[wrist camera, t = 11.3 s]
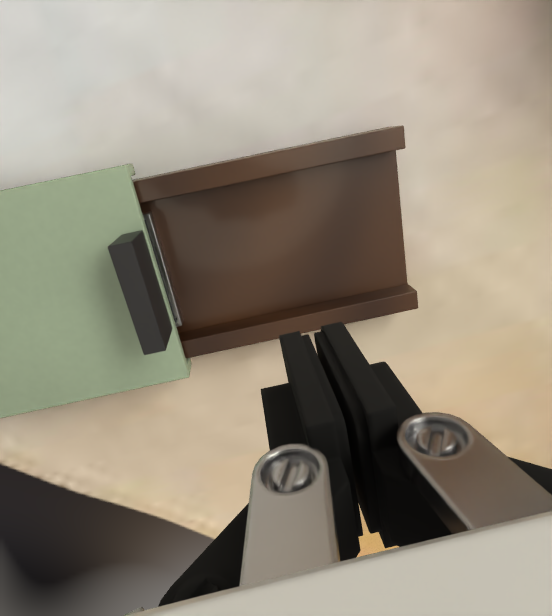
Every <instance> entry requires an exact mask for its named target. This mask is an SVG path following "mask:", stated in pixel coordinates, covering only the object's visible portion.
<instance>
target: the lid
mask: <svg viewBox="0 0 552 616" xmlns="http://www.w3.org/2000/svg"><path fill="white" fill-rule="evenodd" d="M132 175H135V171H134V168H133V165H132V164H127V165H122V166H118V167H113V168H108V169H103V170H98V171H93V172H88V173H84V174H79V175H74V176H69V177H64V178H59V179H54V180H50V181H45V182H40V183H35V184H30V185H25V186H21V187H16V188H11V189H6V190H1V191H0V418H4V417H9V416H13V415H18V414H22V413H27V412H32V411H36V410H41V409H45V408H50V407H55V406H59V405H64V404H69V403H73V402H78V401H82V400H87V399H92V398H96V397H101V396H105V395H110V394H115V393H119V392H124V391H128V390H133V389H138V388H142V387H147V386H152V385H156V384H161V383H165V382H170V381H175V380H179V379H184V378H188V377H189V375H190V369H191V361H190V358H185V355H184V351H183V348H182V345H181V341H180V338H179V335H178V331H177V328H176V325H175V321H174V318H173V315H172V311H171V308H170V305H169V301H168V298H167V295H166V291H165V288H164V285H163V281H162V278H161V275H160V271H159V268H158V265H157V261H156V258H155V255H154V251H153V248H152V245H151V241H150V238H149V235H148V231H147V228H146V224H145V221H144V218H143V214H142V211H141V208H140V204H139V201H138V198H137V194H136V191H135V188H134V184H133V181H132V178H131V176H132Z"/></svg>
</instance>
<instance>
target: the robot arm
mask: <svg viewBox="0 0 552 616" xmlns="http://www.w3.org/2000/svg"><path fill="white" fill-rule="evenodd" d="M314 336H315V343H316V348H317V353H316V351H315V348H314V346H313V344H312V342H311V339H310V337H309V335H304V336H301V334H300V332H299V331H297V332H292V333H288V334H283V335H279V338H280V343H281V348H282V353H283V358H284V363H285V368H286V372H287V377H288V382H289V383H286V384H282V385H277V386H273V387H268V388H264V389H261V395H262V401H263V408H264V415H265V421H266V428H267V434H268V441H269V448H270V451H269V452H267V453H266V454H265V455H263V456H262V457H261V458H260V459H259V461H258V462H257V463H256V465H255V467H254V470H253V473H252V480H251V489H250V498H249V503H248V504H247V505H246V506H245V508H244V509H243V510H242V511H241V512H240V513H239V514H238V515H237V516H236V517H235V518H234V519H233V520H232V522H231V523H230V524H229V525H228V526H227V527H226V528H225V529H224V530H223V531H222V532H221V533H220V534H219V536H218V537H217V538H216V539H215V540H214V541H213V542H212V543H211V544H210V545H209V546H208V547H207V548H206V550H205V551H204V552H203V553H202V554H201V555H200V556H199V557H198V558H197V559H196V560H195V561H194V562H193V564H192V565H191V566H190V567H189V568H188V569H187V570H186V571H185V572H184V573H183V575H182V576H180V578H179V579H178V580H177V581H176V582H175V583H174V584H173V585H172V586H171V587H170V589H169V590H168V591H167V593H166V594H165V595H164V597H163V598H162V600H161V601H160V604H159V606H158V607H156V608H152V609H149V610H145V611H144V609H143V607H141V608H138V609H136V610H134V611H132V612H130V613H128V614H126V615H124V616H552V469H549V468H545V467H542V466H538V465H535V464H531V463H528V462H524V461H521V460H517V459H514V458H510V457H507V456H506V455H505V454H503V453H502V452H501V451H500V450H499V449H498V448H496V447H495V446H494V445H493V444H492V443H491V442H489V441H488V440H487V439H486V438H485V437H484V436H483V435H481V434H480V433H479V432H478V431H477V430H476V429H474V428H473V427H472V426H471V425H470V424H468V423H467V422H465V421H464V420H462V419H461V418H458V417H456V416H453V415H450V414H445V413H439V412H432V413H422V412H421V410H420V409H419V407H418V406H417V405H416V403H415V402H414V401H413V399H412V398H411V396H410V395H409V394H408V392H407V391H406V389H405V388H404V387H403V385H402V384H401V382H400V381H399V380H398V378H397V377H396V376H395V374H394V373H393V371H392V370H391V369H390V367H389V366H388V364H387V363H386V362H379V363H375V364H371V365H369V363H368V362H367V360H366V359H365V357H364V356H363V354H362V352H361V351H360V349H359V348H358V346H357V345H356V343H355V341H354V340H353V338H352V337H351V335H350V334H349V332H348V331H347V329H346V327H345V326H344V324H343V323H342V322H337V323H333V324H328V325H324V326H321V332H317V333H314ZM317 354H318V355H317ZM358 503H359V505H360V508H361V511H362V514H363V516H364V519H365V522H366V524H367V527H368V530H369V532H370V533H376V532H379V534H380V536H381V539H382V541H383V544H384V547H385V548H388V547H392V546H396V545H397V546H399V547H398V548H394V549H390V550H386V551H382V552H378V553H373V554H369V555H365V556H361V557H357V555H358V553H359V552H360V544H359V538H358V537H359V536H363V530H362V524H361V517H360V511H359V505H358ZM356 557H357V558H356Z"/></svg>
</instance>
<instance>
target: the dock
mask: <svg viewBox="0 0 552 616" xmlns="http://www.w3.org/2000/svg"><path fill="white" fill-rule="evenodd" d="M404 148H405V138H404V126H393V127H386V128H381V129H376V130H371V131H367V132H362V133H357V134H352V135H347V136H342V137H338V138H333V139H328V140H323V141H318V142H314V143H309V144H304V145H299V146H294V147H289V148H285V149H280V150H275V151H270V152H265V153H260V154H256V155H251V156H246V157H241V158H236V159H231V160H227V161H222V162H217V163H212V164H207V165H202V166H198V167H193V168H188V169H183V170H178V171H173V172H169V173H164V174H159V175H154V176H149V177H144V178H140V179H135V180H132V181H133V184H134V188H135V191H136V194H137V198H138V201H139V204H140V208H141V211H142V213H146V212H152V215H153V218H154V222H155V225H156V228H157V232H158V235H159V239H160V242H161V246H162V249H163V253H164V256H165V259H166V263H167V266H168V270H169V273H170V277H171V280H172V283H173V287H174V290H175V294H176V297H177V301H178V304H179V307H180V311H181V314H182V318H183V324H182V326H178V327H176V328H177V331H178V335H179V338H180V341H181V345H182V348H183V351H184V355H185V358H190V357H194V356H199V355H204V354H208V353H213V352H218V351H222V350H227V349H231V348H236V347H241V346H245V345H250V344H255V343H259V342H264V341H269V340H273V339H278V338H279V335H283V334H288V333H292V332H297V331H299V332H300V334H301V333H306V332H310V331H315V330H319V329H321V326H324V325H328V324H333V323H337V322H342V323H343V324H347V323H352V322H357V321H361V320H366V319H370V318H375V317H380V316H384V315H389V314H394V313H398V312H403V311H407V310H412V309H417V308H418V300H417V291H416V290H415V289H413V288H412V287H411V286H410V285H408V284H407V275H406V263H405V252H404V241H403V229H402V218H401V206H400V195H399V184H398V172H397V161H396V150H399V149H404Z"/></svg>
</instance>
